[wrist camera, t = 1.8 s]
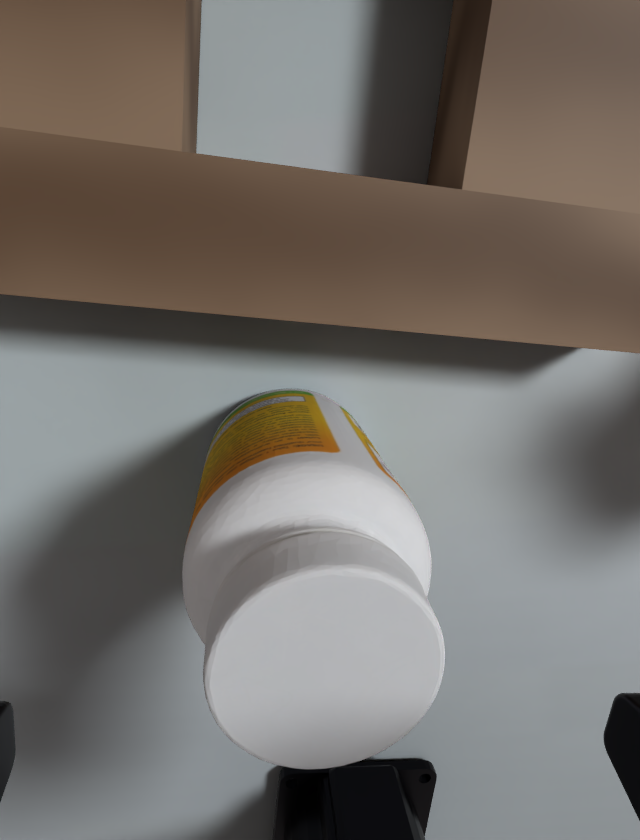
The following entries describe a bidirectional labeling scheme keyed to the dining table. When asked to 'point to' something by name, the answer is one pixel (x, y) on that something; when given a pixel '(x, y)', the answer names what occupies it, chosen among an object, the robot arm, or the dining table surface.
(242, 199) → the socket board
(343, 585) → the supplement bottle
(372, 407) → the dining table surface
